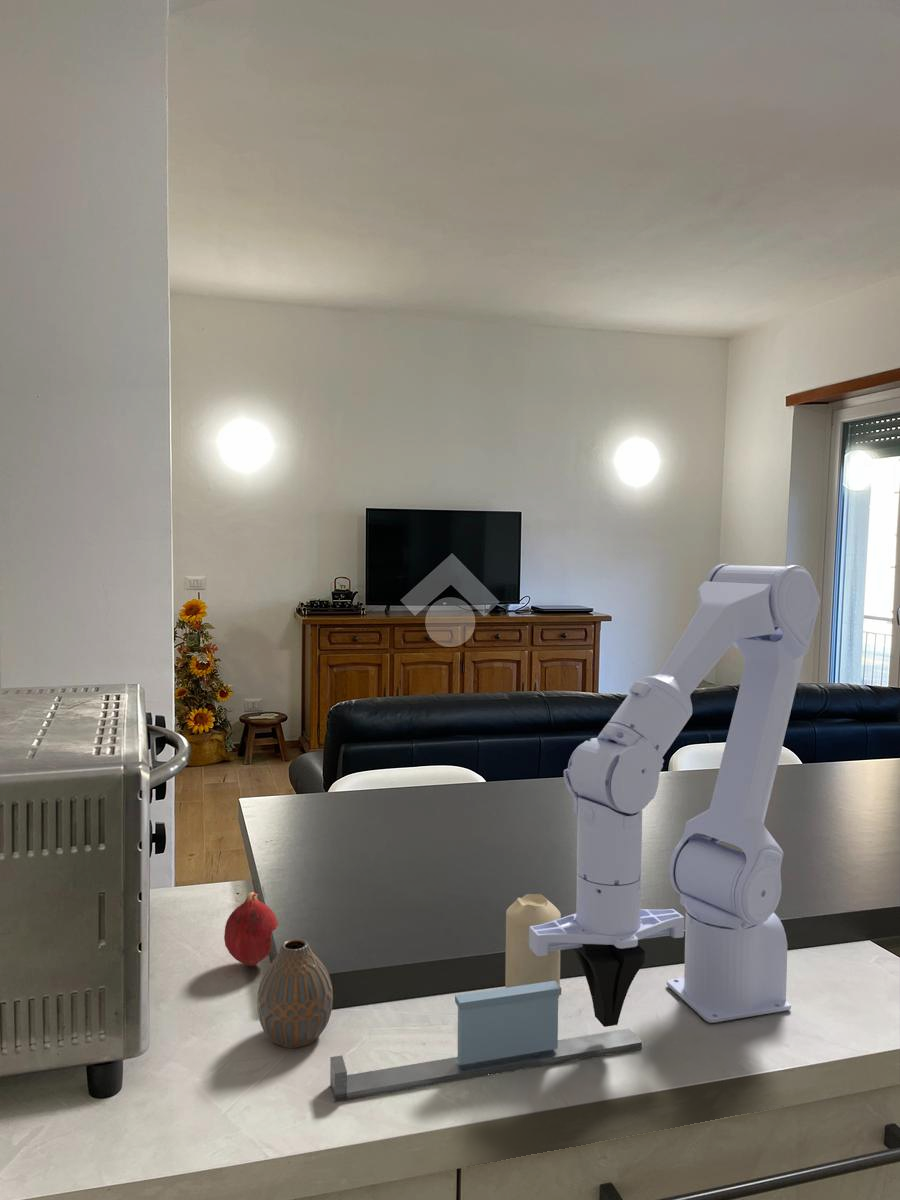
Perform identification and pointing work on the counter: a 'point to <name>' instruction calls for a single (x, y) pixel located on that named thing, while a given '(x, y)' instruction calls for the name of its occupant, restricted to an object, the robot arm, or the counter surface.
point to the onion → (250, 931)
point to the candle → (519, 955)
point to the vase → (294, 996)
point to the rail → (472, 1066)
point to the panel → (507, 1021)
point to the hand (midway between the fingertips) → (606, 1020)
